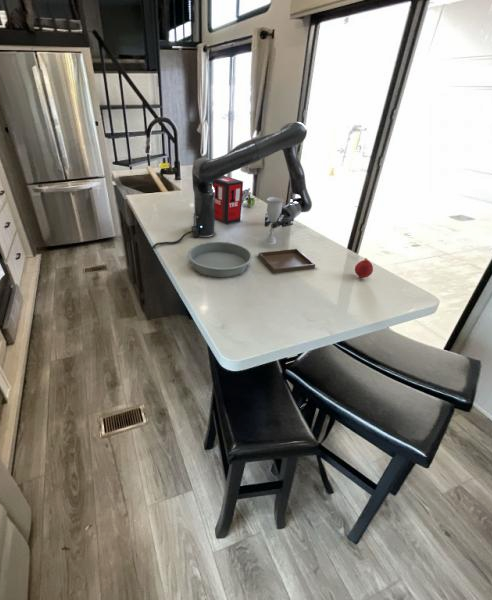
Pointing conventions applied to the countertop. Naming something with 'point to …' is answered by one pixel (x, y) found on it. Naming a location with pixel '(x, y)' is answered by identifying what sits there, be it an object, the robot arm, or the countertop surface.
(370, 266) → the onion
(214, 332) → the countertop surface
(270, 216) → the chalice
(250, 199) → the passion flower
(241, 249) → the cake pan
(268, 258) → the tray
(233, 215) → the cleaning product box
